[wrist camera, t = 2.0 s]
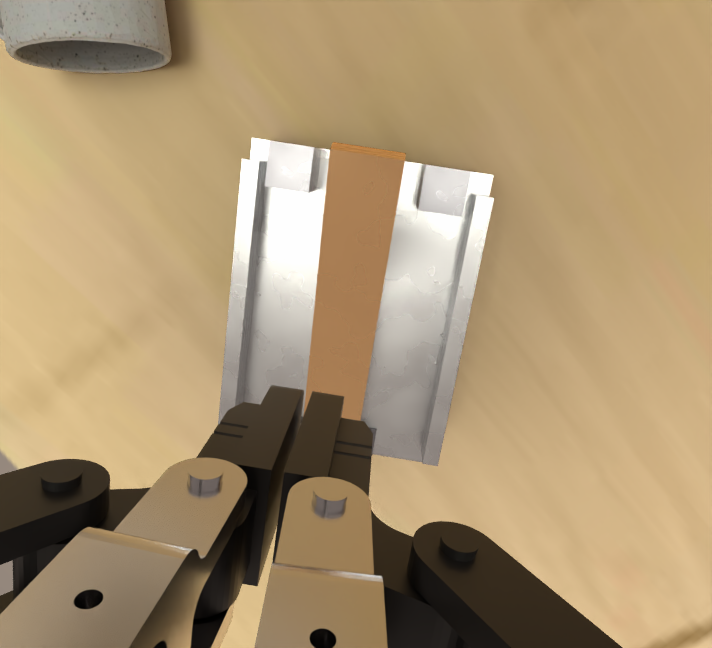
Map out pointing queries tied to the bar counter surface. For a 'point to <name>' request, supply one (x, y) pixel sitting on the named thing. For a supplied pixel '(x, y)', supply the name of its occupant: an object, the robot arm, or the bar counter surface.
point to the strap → (352, 269)
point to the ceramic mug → (87, 34)
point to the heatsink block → (398, 302)
